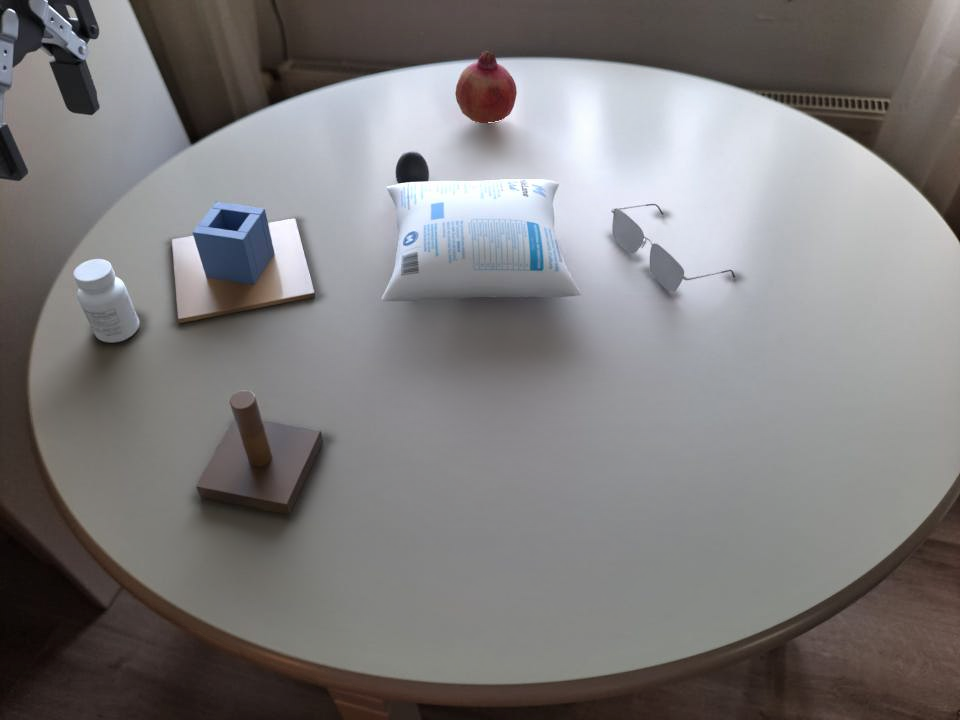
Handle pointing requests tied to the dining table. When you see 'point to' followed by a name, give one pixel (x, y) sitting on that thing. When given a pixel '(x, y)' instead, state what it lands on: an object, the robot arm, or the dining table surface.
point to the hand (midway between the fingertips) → (50, 142)
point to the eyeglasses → (660, 259)
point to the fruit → (486, 90)
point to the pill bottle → (105, 301)
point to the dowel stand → (259, 460)
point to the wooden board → (220, 297)
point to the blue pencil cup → (234, 242)
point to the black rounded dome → (411, 168)
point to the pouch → (477, 241)
